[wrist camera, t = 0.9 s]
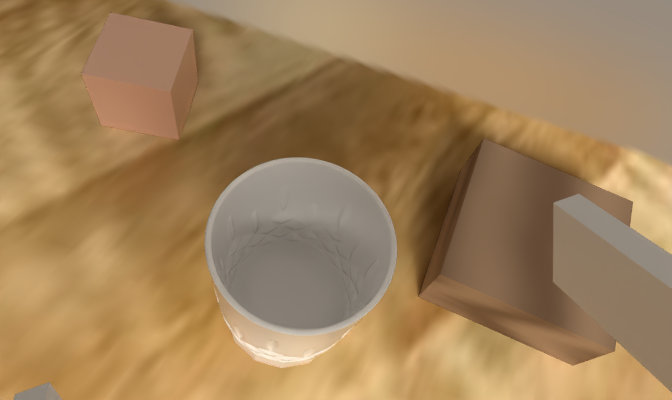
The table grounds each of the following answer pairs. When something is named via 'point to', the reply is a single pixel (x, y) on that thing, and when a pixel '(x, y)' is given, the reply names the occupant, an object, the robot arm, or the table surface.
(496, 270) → the walnut block
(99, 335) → the table surface
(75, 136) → the table surface
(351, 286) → the white cup
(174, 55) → the terracotta cube
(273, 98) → the table surface
